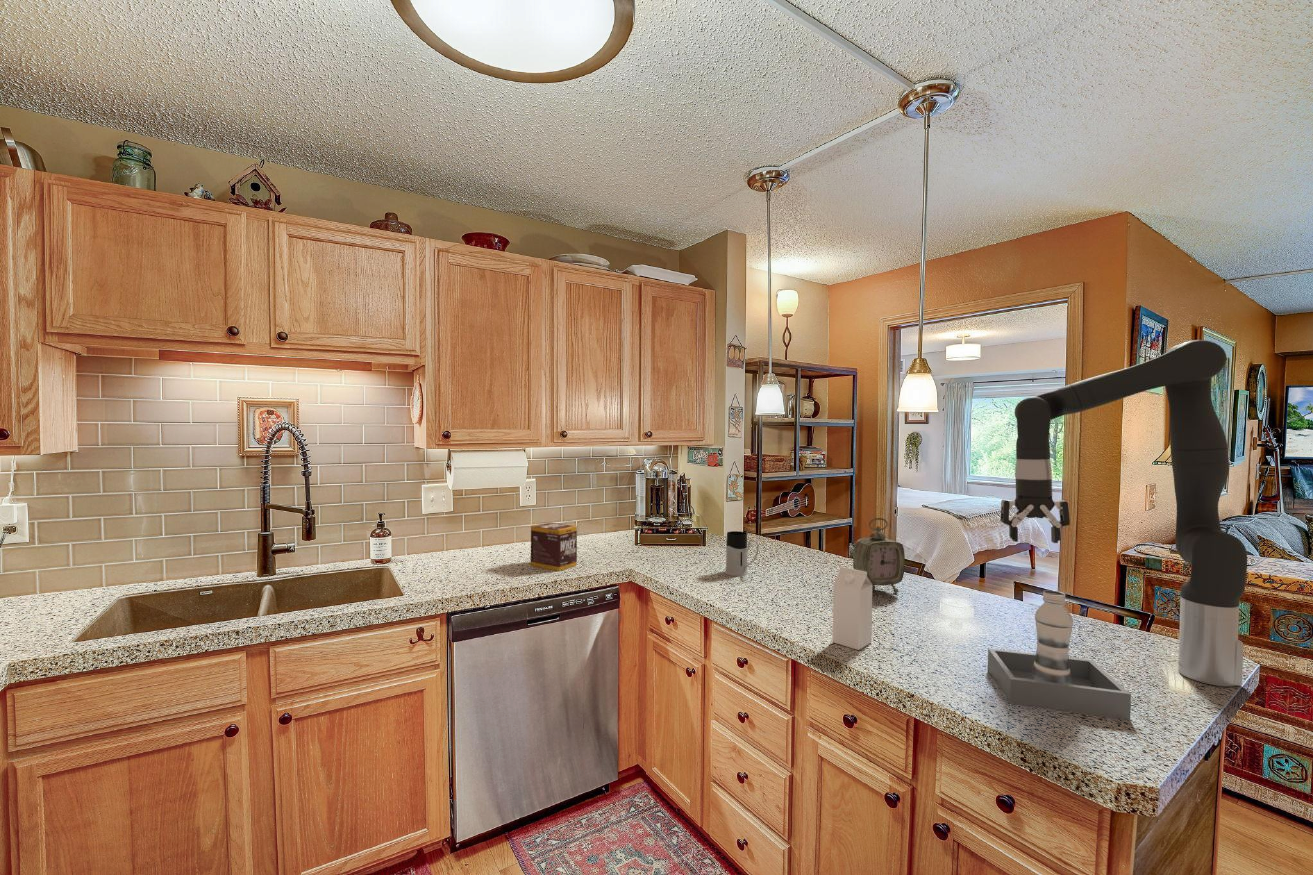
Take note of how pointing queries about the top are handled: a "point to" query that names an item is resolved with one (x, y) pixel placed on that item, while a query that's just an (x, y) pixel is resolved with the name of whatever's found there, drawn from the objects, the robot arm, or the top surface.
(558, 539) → the supplement box
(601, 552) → the top surface
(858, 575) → the milk carton
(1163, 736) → the top surface
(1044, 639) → the silver bottle
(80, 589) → the top surface
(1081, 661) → the bin
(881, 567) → the tabletop clock
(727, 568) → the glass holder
